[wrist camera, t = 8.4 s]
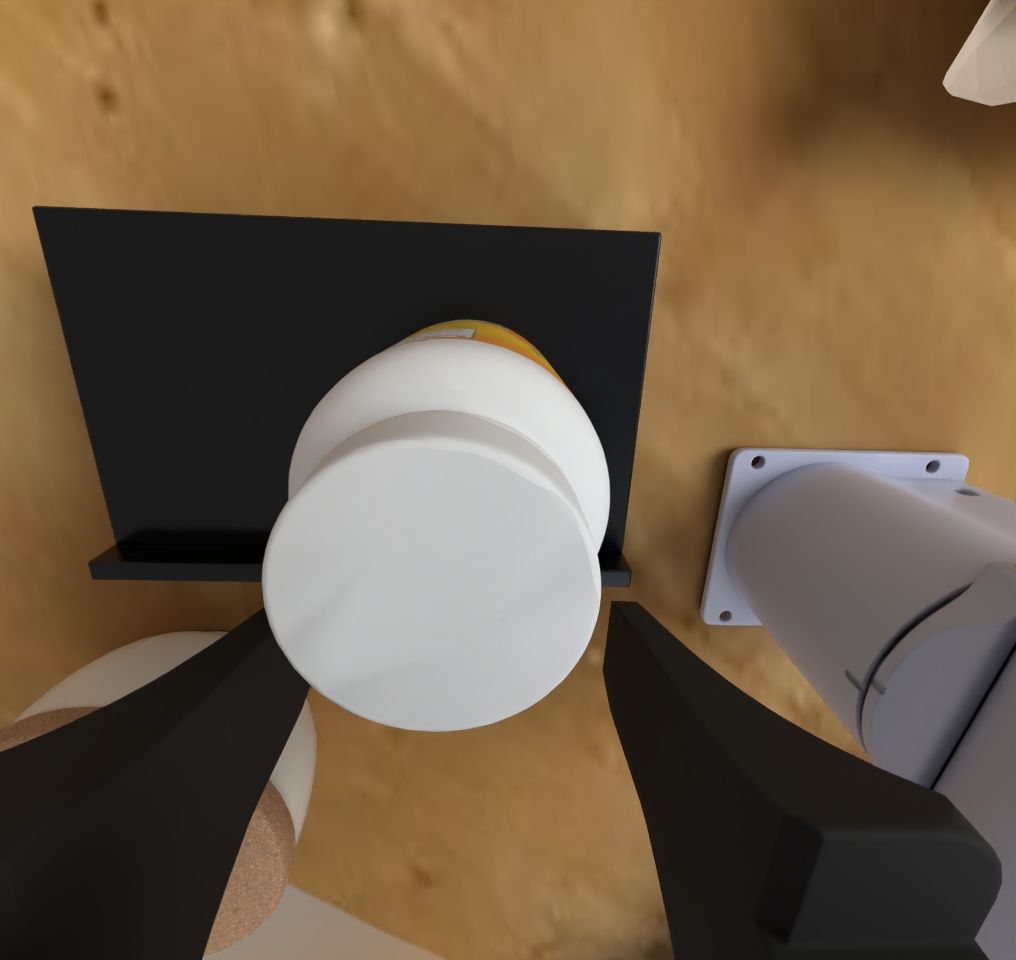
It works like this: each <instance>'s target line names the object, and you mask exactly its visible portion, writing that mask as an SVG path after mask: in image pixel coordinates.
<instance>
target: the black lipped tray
mask: <svg viewBox="0 0 1016 960" xmlns="http://www.w3.org/2000/svg"><path fill="white" fill-rule="evenodd" d="M32 210H33V214H34V218H35V222H36V226H37V230H38V234H39V238H40V242H41V246H42V250H43V254H44V258H45V262H46V266H47V270H48V274H49V278H50V282H51V286H52V290H53V294H54V298H55V302H56V306H57V310H58V314H59V318H60V322H61V326H62V330H63V334H64V338H65V342H66V346H67V350H68V354H69V358H70V362H71V366H72V370H73V374H74V378H75V382H76V386H77V390H78V394H79V398H80V402H81V406H82V410H83V414H84V418H85V422H86V426H87V430H88V434H89V438H90V442H91V446H92V450H93V454H94V458H95V462H96V466H97V470H98V474H99V478H100V482H101V486H102V490H103V494H104V498H105V502H106V506H107V510H108V514H109V518H110V522H111V526H112V530H113V534H114V538H115V542H116V545H113V546H112V547H110V548H109V549H107V550H106V551H104V552H103V553H101V554H100V555H98V556H97V557H96V558H94V559H93V560H91V561H90V562H89V563H88V565H89V569H90V572H91V576H92V578H93V579H97V580H171V581H244V582H262V567H263V561H264V556H265V550H266V546H267V543H268V540H269V537H270V534H271V531H272V529H273V527H274V525H275V523H276V521H277V518H278V516H279V515H280V513H281V511H282V510H283V508H284V506H285V505H286V503H287V502H288V500H289V499H288V491H289V471H290V466H291V461H292V456H293V453H294V450H295V447H296V444H297V441H298V438H299V436H300V433H301V431H302V429H303V427H304V425H305V423H306V421H307V420H308V418H309V417H310V415H311V413H312V412H313V410H314V408H315V407H316V406H317V405H318V404H319V402H320V401H321V400H322V399H323V398H324V396H325V395H326V394H327V393H328V392H329V391H330V390H331V389H332V388H333V387H334V386H335V385H336V384H337V383H338V382H339V381H340V380H341V379H342V378H344V377H345V376H346V375H347V374H348V373H350V372H351V371H352V370H353V369H355V368H356V367H358V366H359V365H361V364H362V363H364V362H365V361H367V360H368V359H370V358H372V357H373V356H375V355H377V354H379V353H381V352H383V351H385V350H386V349H388V348H390V347H391V346H393V345H395V344H397V343H399V342H400V341H402V340H404V339H406V338H407V337H409V336H411V335H412V334H414V333H416V332H418V331H420V330H422V329H424V328H427V327H429V326H432V325H436V324H439V323H443V322H448V321H455V320H479V321H486V322H490V323H493V324H497V325H500V326H502V327H505V328H507V329H509V330H511V331H513V332H515V333H516V334H518V335H520V336H521V337H523V338H524V339H525V340H527V341H528V342H529V343H530V344H532V345H533V346H534V347H535V348H536V349H537V350H538V351H539V352H540V353H541V354H542V355H543V357H544V358H545V359H546V360H547V361H548V363H549V364H550V365H551V367H552V368H553V369H554V371H555V372H556V373H557V374H558V376H559V377H560V378H561V380H562V381H563V382H564V384H565V385H566V386H567V388H568V389H569V390H570V391H571V393H572V394H573V395H574V397H575V398H576V399H577V401H578V402H579V403H580V405H581V406H582V408H583V409H584V411H585V413H586V414H587V416H588V418H589V420H590V421H591V423H592V425H593V427H594V429H595V432H596V434H597V436H598V438H599V440H600V443H601V446H602V448H603V451H604V455H605V459H606V463H607V468H608V475H609V485H610V508H609V516H608V523H607V527H606V531H605V535H604V538H603V541H602V544H601V547H600V550H599V552H598V554H597V556H598V560H599V566H600V574H601V586H611V587H629V586H630V580H631V573H632V571H631V569H630V567H629V565H628V563H627V561H626V559H625V557H624V555H623V553H622V550H623V542H624V534H625V526H626V518H627V510H628V502H629V494H630V486H631V478H632V470H633V462H634V454H635V446H636V438H637V430H638V422H639V414H640V406H641V398H642V390H643V381H644V373H645V365H646V357H647V349H648V341H649V333H650V325H651V317H652V309H653V301H654V293H655V285H656V277H657V269H658V261H659V253H660V245H661V237H662V236H661V233H659V232H641V231H617V230H593V229H570V228H546V227H523V226H499V225H476V224H452V223H429V222H405V221H381V220H358V219H334V218H311V217H287V216H264V215H240V214H216V213H193V212H169V211H146V210H122V209H99V208H75V207H52V206H34V207H32Z"/></svg>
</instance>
